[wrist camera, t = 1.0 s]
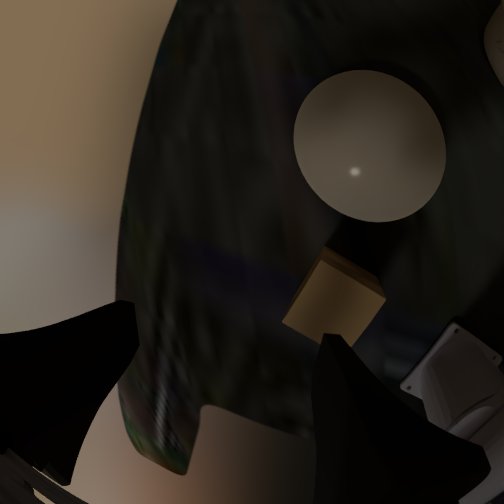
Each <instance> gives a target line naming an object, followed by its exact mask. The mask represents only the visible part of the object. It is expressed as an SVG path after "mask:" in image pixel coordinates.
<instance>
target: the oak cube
mask: <svg viewBox="0 0 504 504" xmlns="http://www.w3.org/2000/svg"><path fill="white" fill-rule="evenodd" d="M385 300H386V298H385V295H384V293H383V291H382V288H381V286H380V284H379V281H378V279H377V277H376V276H374V275H372V274H371V273H369V272H367V271H366V270H364V269H363V268H361V267H359V266H358V265H356V264H354V263H353V262H351V261H349V260H348V259H346V258H344V257H343V256H341V255H339V254H338V253H336V252H334V251H333V250H331V249H329V248H327V247H326V246H324V247H323V249H322V251H321V252H320V254H319V256H318V257H317V259H316V261H315V263H314V264H313V266H312V268H311V269H310V271H309V273H308V274H307V276H306V278H305V279H304V281H303V283H302V284H301V286H300V287H299V289H298V291H297V292H296V294H295V296H294V297H293V299H292V302H291V304H290V306H289V308H288V310H287V312H286V315H285V317H284V319H283V321H282V322H283V323H284V324H286V325H288V326H289V327H291V328H293V329H295V330H296V331H298V332H300V333H302V334H303V335H305V336H307V337H309V338H310V339H312V340H314V341H316V342H317V343H319V344H321V341H322V337H323V333H330V334H340V335H341V336H342V337H343V338H344V340H345V341H346V342H347V343H348V345H349V346H350V347H351V346H352V345H353V344H354V343H355V341H356V340H357V339H358V337H359V336H360V335H361V334H362V332H363V331H364V330H365V328H366V327H367V326H368V324H369V323H370V322H371V320H372V319H373V317H374V316H375V315H376V313H377V312H378V310H379V309H380V308H381V306H382V305H383V303H384V302H385Z"/></svg>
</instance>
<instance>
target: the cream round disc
mask: <svg viewBox="0 0 504 504" xmlns="http://www.w3.org/2000/svg"><path fill="white" fill-rule="evenodd" d="M294 147H295V154H296V157H297V161H298V164H299V167H300V169H301V171H302V173H303V175H304V177H305V179H306V181H307V182H308V184H309V185H310V186H311V188H312V189H313V190H314V191H315V193H316V194H317V195H318V196H319V197H320V198H321V199H322V200H323V201H325V202H326V203H327V204H328V205H330V206H331V207H333V208H334V209H336V210H337V211H339V212H341V213H343V214H345V215H347V216H350V217H352V218H355V219H359V220H363V221H369V222H388V221H393V220H398V219H401V218H404V217H406V216H408V215H410V214H412V213H414V212H416V211H417V210H418V209H420V208H421V207H423V206H424V205H425V204H426V203H427V202H428V201H429V200H430V198H431V197H432V196H433V194H434V193H435V191H436V190H437V188H438V186H439V184H440V182H441V179H442V176H443V173H444V168H445V161H446V146H445V140H444V135H443V132H442V128H441V126H440V123H439V121H438V119H437V117H436V115H435V113H434V112H433V110H432V108H431V107H430V106H429V104H428V103H427V102H426V100H425V99H424V98H423V97H422V96H421V95H420V94H419V93H418V92H417V91H416V90H414V89H413V88H412V87H411V86H409V85H408V84H406V83H405V82H403V81H401V80H399V79H397V78H395V77H393V76H391V75H388V74H385V73H381V72H376V71H370V70H353V71H347V72H343V73H340V74H337V75H334V76H332V77H330V78H328V79H326V80H325V81H323V82H322V83H320V84H319V85H318V86H316V87H315V88H314V89H313V90H312V91H311V92H310V94H309V95H308V96H307V97H306V99H305V100H304V102H303V104H302V105H301V107H300V110H299V112H298V115H297V118H296V122H295V128H294Z"/></svg>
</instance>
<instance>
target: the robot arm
mask: <svg viewBox="0 0 504 504" xmlns="http://www.w3.org/2000/svg"><path fill="white" fill-rule="evenodd" d="M457 328H458V329H457ZM455 329H457V331H455ZM454 331H455V332H454ZM139 345H140V343H139V337H138V330H137V323H136V315H135V307H134V303H132V302H128V301H123V300H120V301H116V302H113V303H110V304H107V305H104V306H102V307H99V308H97V309H94V310H91V311H89V312H86V313H84V314H81V315H79V316H76V317H73V318H70V319H67V320H64V321H62V322H59V323H56V324H52V325H49V326H46V327H42V328H37V329H34V330H29V331H22V332H15V333H8V334H0V504H45V503H43V502H42V501H41V500H39V499H38V498H37V497H36V496H35V495H34V490H33V488H34V489H35V490H37V491H38V492H40V493H41V494H42V495H44V496H45V497H46V498H48V499H49V500H51V501H52V502H53V503H55V504H88V503H87V502H85V501H83V500H81V499H79V498H78V497H76V496H74V495H72V494H71V493H69V492H68V491H66V490H64V489H63V488H61V487H60V486H58V485H57V484H55V483H54V482H52V481H51V480H49V479H48V478H46V477H45V476H44V475H42V474H41V473H39V472H38V471H40V472H42V473H44V474H45V475H47V476H48V477H49V478H51V479H52V480H54V481H55V482H57V483H58V484H60V485H62V486H67V485H70V483H71V478H72V475H73V471H74V467H75V464H76V460H77V457H78V455H79V452H80V449H81V446H82V444H83V441H84V439H85V436H86V434H87V432H88V430H89V427H90V425H91V423H92V421H93V419H94V417H95V415H96V413H97V411H98V409H99V407H100V406H101V404H102V403H103V401H104V400H105V398H106V397H107V395H108V394H109V392H110V391H111V390H112V388H113V387H114V386H115V384H116V383H117V381H118V380H119V379H120V377H121V376H122V374H123V373H124V372H125V370H126V369H127V367H128V366H129V364H130V363H131V361H132V359H133V357H134V355H135V353H136V351H137V349H138V347H139ZM493 357H494V358H493ZM501 361H502V357H501V355H499V354H498V353H497V352H495V351H494V350H493V349H491V348H490V347H489V346H487V345H486V344H485V343H483V342H482V341H481V340H479V339H478V338H476V337H475V336H474V335H472V334H471V333H469V332H468V331H467V330H465V329H464V328H462V327H461V326H460V325H458V324H457V323H455V322H452V323H450V324H449V325H448V327H447V328H446V329H445V331H444V332H443V333H442V335H441V336H440V337H439V339H438V340H437V341H436V343H435V344H434V345H433V346H432V348H431V349H430V350H429V351H428V353H427V354H426V355H425V356H424V357H423V359H422V360H421V361H420V362H419V363H418V364H417V366H416V367H415V368H414V369H413V370H412V371H411V372H410V374H409V375H408V376H407V377H406V378H405V379H404V380H403V381H402V382H401V384H400V387H401V389H402V390H404V391H406V392H408V393H410V394H412V395H414V396H416V397H418V398H421V399H423V402H424V406H425V410H426V413H427V417H428V420H426V419H425V418H424V417H422V416H421V415H419V414H418V413H416V412H415V411H413V410H412V409H411V408H409V407H408V406H407V405H406V404H404V403H403V402H402V401H401V400H400V399H398V398H397V397H396V396H395V395H394V394H393V393H391V392H390V391H389V390H388V389H387V388H386V387H385V386H384V385H383V384H382V383H381V382H380V381H379V380H378V379H377V378H376V377H375V376H374V374H373V373H372V372H371V371H370V370H369V369H368V368H367V367H366V365H365V364H364V363H363V362H362V361H361V360H360V358H359V357H358V356H357V355H356V353H355V352H354V351H353V350H352V349H351V347H350V346H349V345H348V343H347V342H346V341H345V340H344V338H343V337H342V336H341V335H340V334H330V333H323V337H322V341H321V345H320V348H319V352H318V355H317V359H316V362H315V366H314V369H313V372H312V391H311V399H312V409H313V419H314V429H315V439H316V457H317V458H316V477H315V488H314V499H313V504H504V376H503V374H502V373H501V371H500V370H499V368H498V365H499V364H500V363H501ZM408 386H410V387H408ZM407 387H408V388H407ZM33 467H34V468H36V469H37V470H38V471H37V470H35V469H34V468H33ZM31 486H32V487H33V488H32V487H31Z"/></svg>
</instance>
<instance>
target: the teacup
mask: <svg viewBox="0 0 504 504" xmlns="http://www.w3.org/2000/svg"><path fill="white" fill-rule="evenodd" d="M484 46H485V51H486V54H487V57H488V60H489V62H490V64H491V66H492V68H493V70H494V72H495V74H496V76H497V77H498V79H499V81H500V82H501V84H502V85H503V87H504V0H501V3H500V5H499V7H498V8H497V9H496V11H495V12H494V14H493V15H492V17H491V19H490V20H489V22H488V24H487V26H486V29H485V32H484Z"/></svg>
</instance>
